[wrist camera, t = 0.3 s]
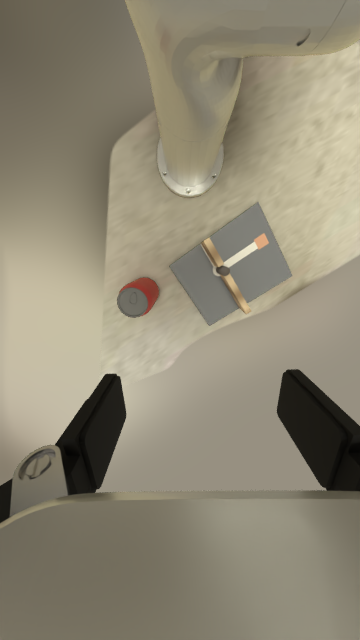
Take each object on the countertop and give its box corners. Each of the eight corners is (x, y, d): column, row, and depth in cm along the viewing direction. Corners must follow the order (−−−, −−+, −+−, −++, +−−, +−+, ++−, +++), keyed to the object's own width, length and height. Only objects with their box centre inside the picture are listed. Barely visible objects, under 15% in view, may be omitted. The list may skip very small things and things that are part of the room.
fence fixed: (200, 243, 39) (203, 241, 33) (205, 239, 38) (209, 237, 33) (214, 266, 40) (218, 267, 35) (218, 262, 40) (224, 263, 35)
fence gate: (214, 268, 40) (219, 270, 35) (221, 263, 39) (227, 264, 34) (238, 308, 43) (245, 315, 38) (244, 304, 42) (253, 311, 37)
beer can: (161, 281, 42) (154, 289, 31) (156, 307, 44) (147, 324, 33) (134, 274, 42) (116, 280, 31) (130, 300, 44) (111, 315, 33)
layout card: (169, 265, 41) (169, 266, 40) (256, 203, 37) (258, 201, 36) (208, 324, 46) (209, 326, 45) (289, 275, 41) (292, 275, 40)
